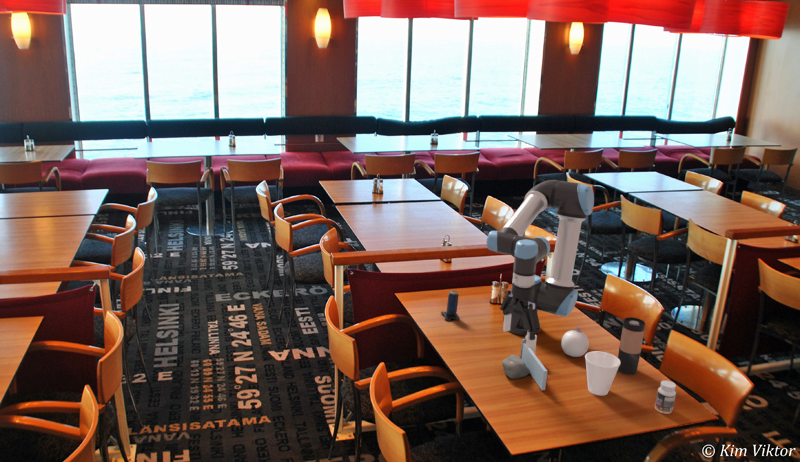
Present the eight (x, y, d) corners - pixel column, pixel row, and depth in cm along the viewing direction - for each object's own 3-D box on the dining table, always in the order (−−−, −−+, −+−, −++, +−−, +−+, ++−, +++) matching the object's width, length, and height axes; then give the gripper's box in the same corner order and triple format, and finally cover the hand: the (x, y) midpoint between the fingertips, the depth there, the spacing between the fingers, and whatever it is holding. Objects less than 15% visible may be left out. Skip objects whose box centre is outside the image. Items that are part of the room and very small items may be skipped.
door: (519, 358, 241) (521, 338, 238) (525, 358, 241) (528, 338, 239) (541, 390, 219) (543, 368, 217) (548, 389, 219) (550, 368, 217)
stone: (536, 377, 229) (527, 356, 224) (516, 390, 227) (507, 370, 223) (523, 365, 237) (514, 345, 233) (504, 378, 235) (495, 358, 231)
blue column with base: (462, 319, 274) (464, 294, 270) (446, 322, 271) (448, 296, 267) (453, 311, 282) (455, 286, 278) (437, 313, 279) (439, 288, 275)
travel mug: (637, 367, 239) (645, 319, 233) (637, 376, 232) (645, 327, 226) (616, 363, 241) (623, 315, 236) (615, 372, 234) (623, 323, 229)
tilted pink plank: (531, 357, 243) (534, 333, 240) (534, 359, 242) (537, 335, 239) (523, 359, 241) (525, 335, 238) (525, 361, 240) (528, 337, 237)
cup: (610, 403, 214) (615, 371, 210) (576, 392, 220) (580, 360, 216) (619, 388, 223) (624, 357, 220) (586, 378, 229) (590, 347, 226)
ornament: (588, 352, 249) (592, 325, 245) (584, 363, 240) (588, 335, 236) (562, 346, 253) (566, 319, 249) (557, 357, 244) (561, 329, 240)
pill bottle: (651, 405, 214) (656, 379, 211) (667, 405, 214) (672, 379, 211) (659, 414, 208) (664, 388, 206) (675, 414, 209) (680, 388, 206)
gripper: (493, 273, 227) (489, 326, 234) (537, 299, 206) (531, 356, 213) (510, 270, 231) (505, 322, 237) (555, 295, 210) (548, 352, 216)
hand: (517, 338), depth 225 cm, fingers open, 13 cm apart
